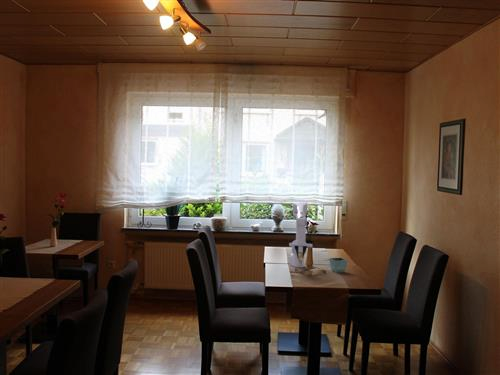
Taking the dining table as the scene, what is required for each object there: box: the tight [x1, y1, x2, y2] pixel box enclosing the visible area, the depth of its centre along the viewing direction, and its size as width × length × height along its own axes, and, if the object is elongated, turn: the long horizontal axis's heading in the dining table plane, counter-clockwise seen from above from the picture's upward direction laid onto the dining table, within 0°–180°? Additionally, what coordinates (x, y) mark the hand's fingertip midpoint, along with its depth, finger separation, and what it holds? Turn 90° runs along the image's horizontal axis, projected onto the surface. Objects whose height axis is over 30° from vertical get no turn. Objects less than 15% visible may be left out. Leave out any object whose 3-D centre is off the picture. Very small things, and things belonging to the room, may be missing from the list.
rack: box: [294, 265, 327, 277], centre depth 303 cm, size 14×14×3 cm
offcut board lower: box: [308, 271, 324, 276], centre depth 300 cm, size 5×10×1 cm, turn 129°
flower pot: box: [329, 257, 348, 273], centre depth 308 cm, size 9×9×9 cm
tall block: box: [298, 251, 303, 263], centre depth 303 cm, size 2×9×6 cm, turn 175°
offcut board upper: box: [309, 267, 323, 273], centre depth 300 cm, size 4×8×1 cm, turn 136°
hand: (300, 258), depth 303 cm, fingers closed on tall block, 2 cm apart
